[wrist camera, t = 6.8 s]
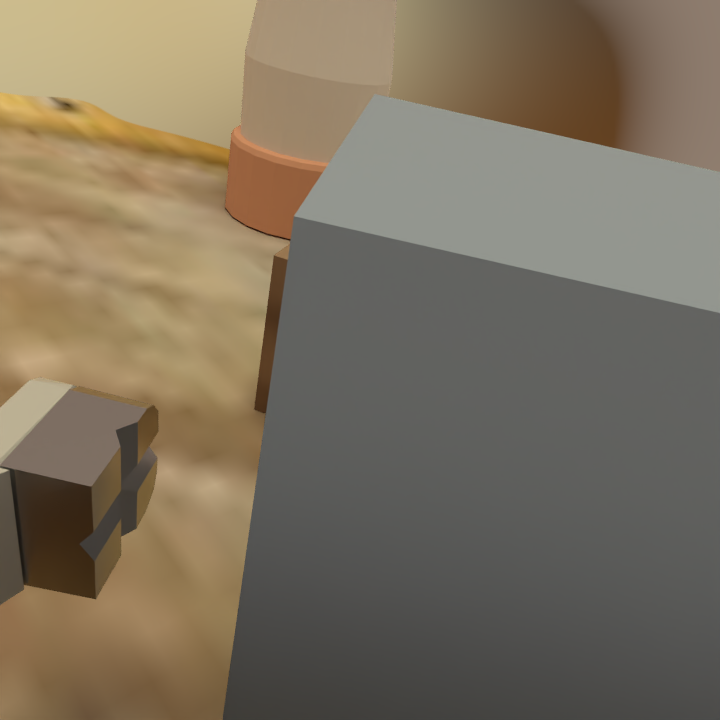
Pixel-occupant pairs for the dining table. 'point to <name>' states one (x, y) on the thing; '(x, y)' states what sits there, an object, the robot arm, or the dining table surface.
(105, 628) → the dining table surface
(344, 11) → the pepper shaker
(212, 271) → the dining table surface
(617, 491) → the gray brick
